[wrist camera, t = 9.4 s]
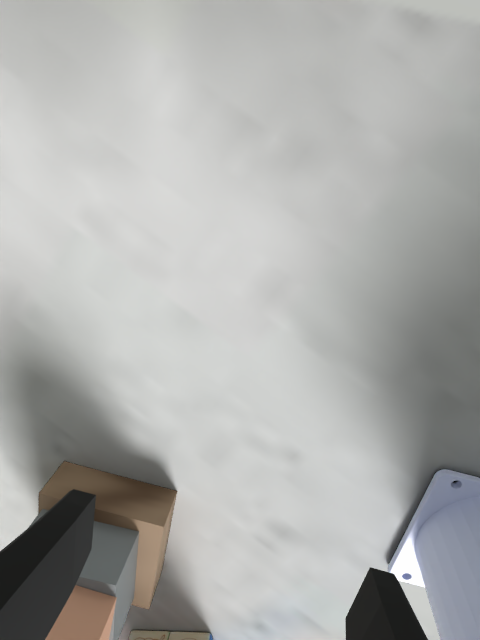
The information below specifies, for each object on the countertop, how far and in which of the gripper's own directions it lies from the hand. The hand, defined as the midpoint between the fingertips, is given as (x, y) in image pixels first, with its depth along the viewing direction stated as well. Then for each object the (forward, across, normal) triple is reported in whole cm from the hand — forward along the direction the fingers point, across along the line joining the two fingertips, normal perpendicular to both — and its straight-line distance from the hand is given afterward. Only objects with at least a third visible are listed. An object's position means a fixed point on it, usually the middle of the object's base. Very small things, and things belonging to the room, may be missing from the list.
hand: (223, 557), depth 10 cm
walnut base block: (+11, +6, +13) cm, 18 cm away
